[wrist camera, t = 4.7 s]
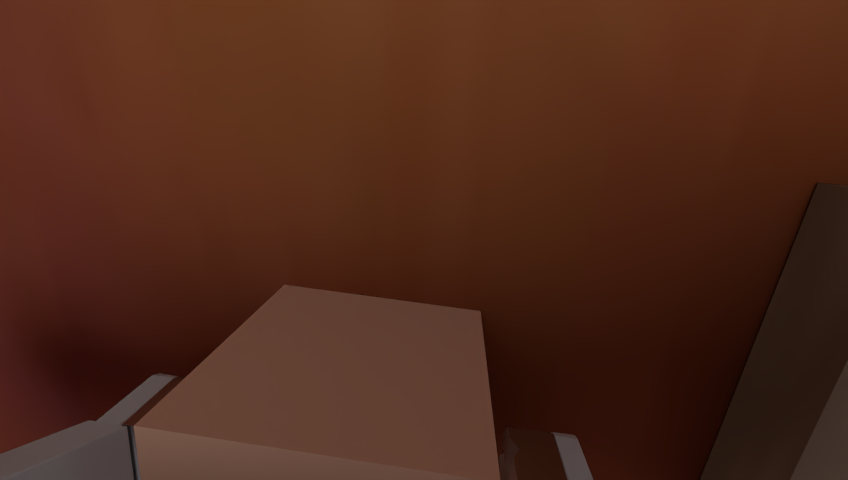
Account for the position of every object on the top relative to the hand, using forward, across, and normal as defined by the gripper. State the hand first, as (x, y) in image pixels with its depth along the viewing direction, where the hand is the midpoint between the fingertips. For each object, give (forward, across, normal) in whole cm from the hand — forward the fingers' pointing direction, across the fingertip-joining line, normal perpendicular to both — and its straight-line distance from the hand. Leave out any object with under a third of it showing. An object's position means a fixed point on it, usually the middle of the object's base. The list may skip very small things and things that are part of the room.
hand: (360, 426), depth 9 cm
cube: (+2, 0, 0) cm, 2 cm away
